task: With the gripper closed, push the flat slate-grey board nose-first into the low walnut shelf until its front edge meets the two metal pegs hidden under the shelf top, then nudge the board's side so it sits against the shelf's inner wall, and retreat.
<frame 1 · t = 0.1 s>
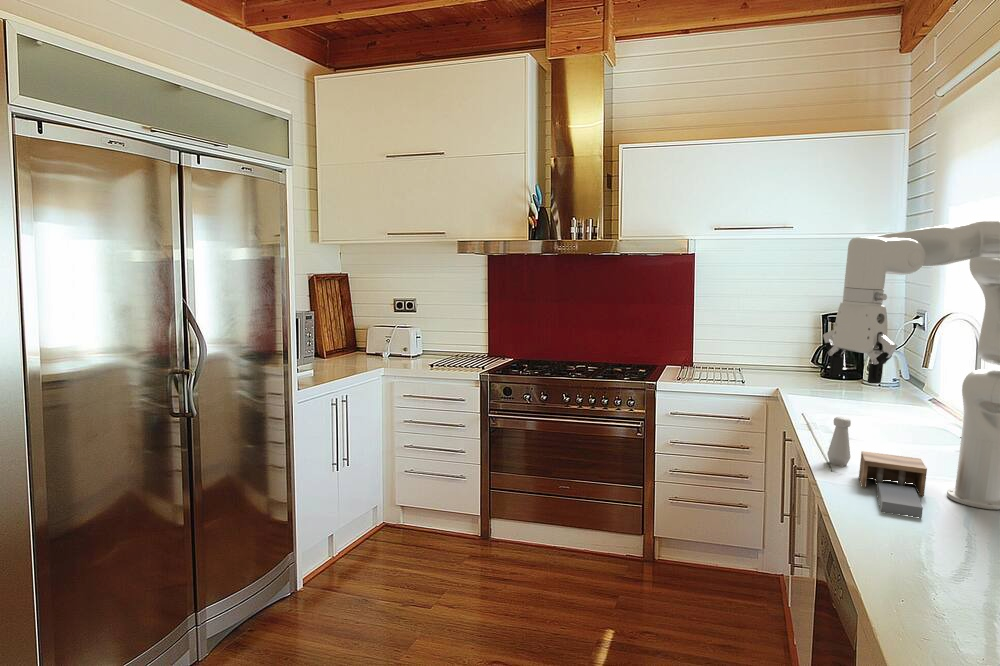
hand: (854, 378, 161), 31 cm above the worktop, tool pointing down, fingers open, 9 cm apart
salt shaker: (837, 464, 211), on the worktop
shelf: (890, 486, 193), on the worktop
board: (897, 506, 178), on the worktop
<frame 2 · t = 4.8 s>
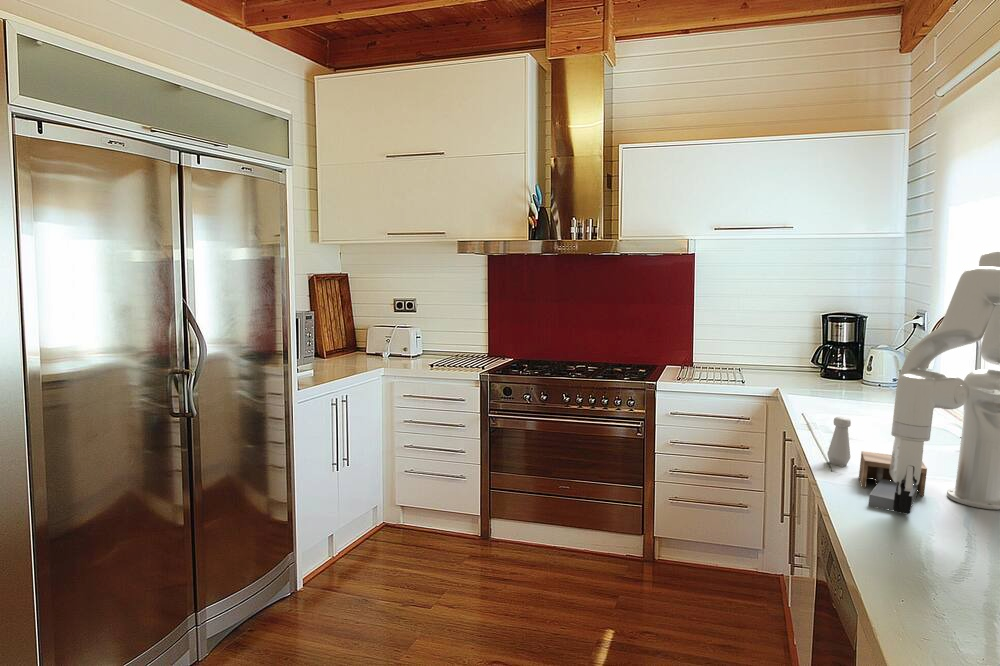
hand: (901, 511, 171), 1 cm above the worktop, tool pointing down, fingers closed
board: (892, 502, 181), on the worktop, touching gripper
everything else where it was.
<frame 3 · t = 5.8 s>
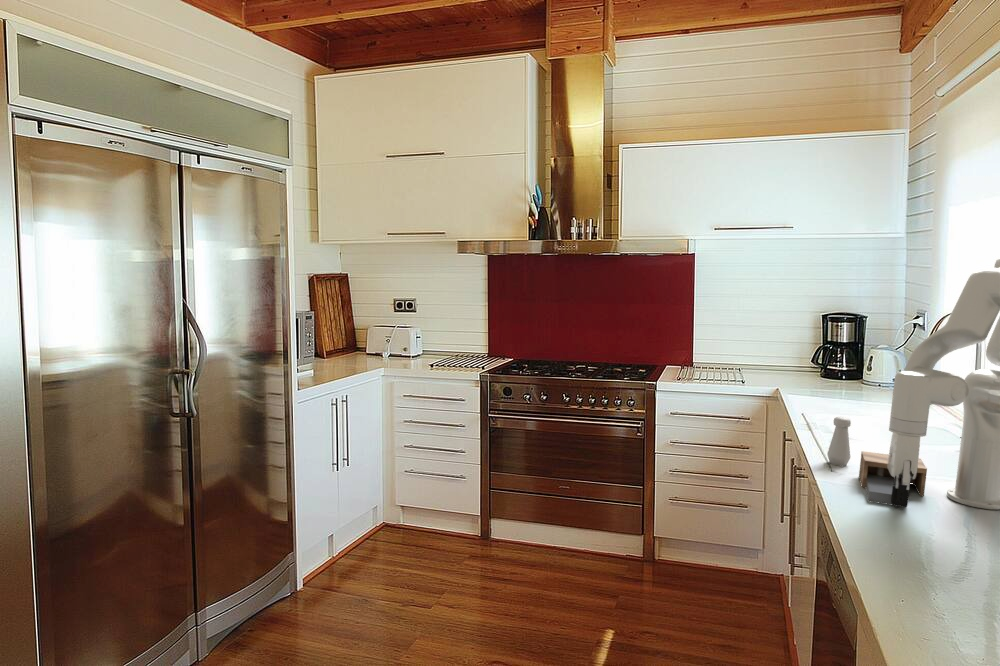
hand: (899, 504, 176), 1 cm above the worktop, tool pointing down, fingers closed
board: (884, 496, 186), on the worktop, touching gripper
everything else where it was.
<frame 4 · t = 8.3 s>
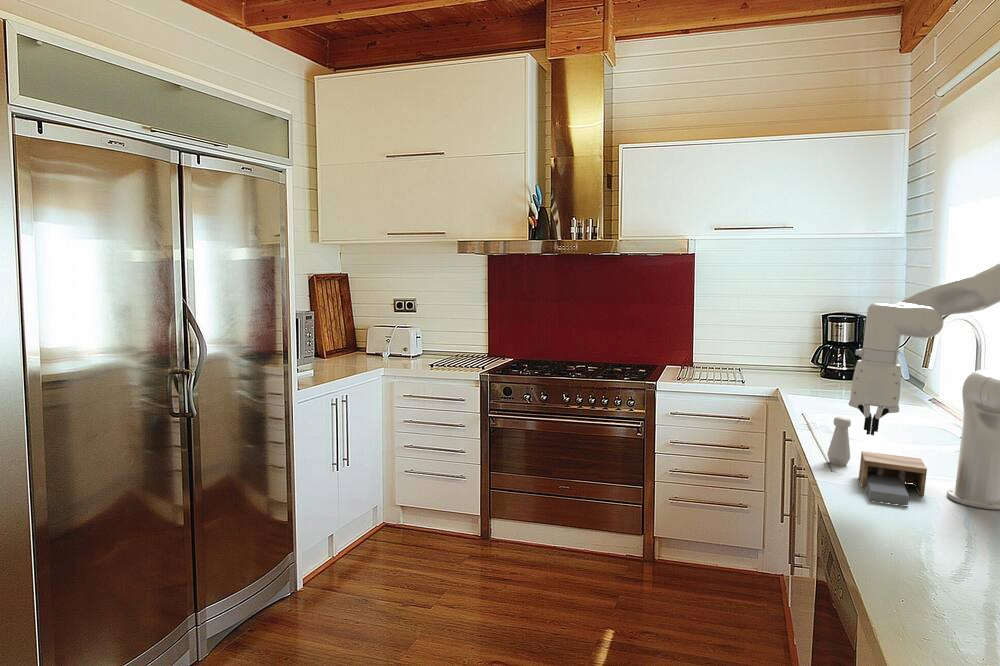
hand: (870, 433, 181), 15 cm above the worktop, tool pointing down, fingers closed
board: (884, 495, 186), on the worktop
everything else where it was.
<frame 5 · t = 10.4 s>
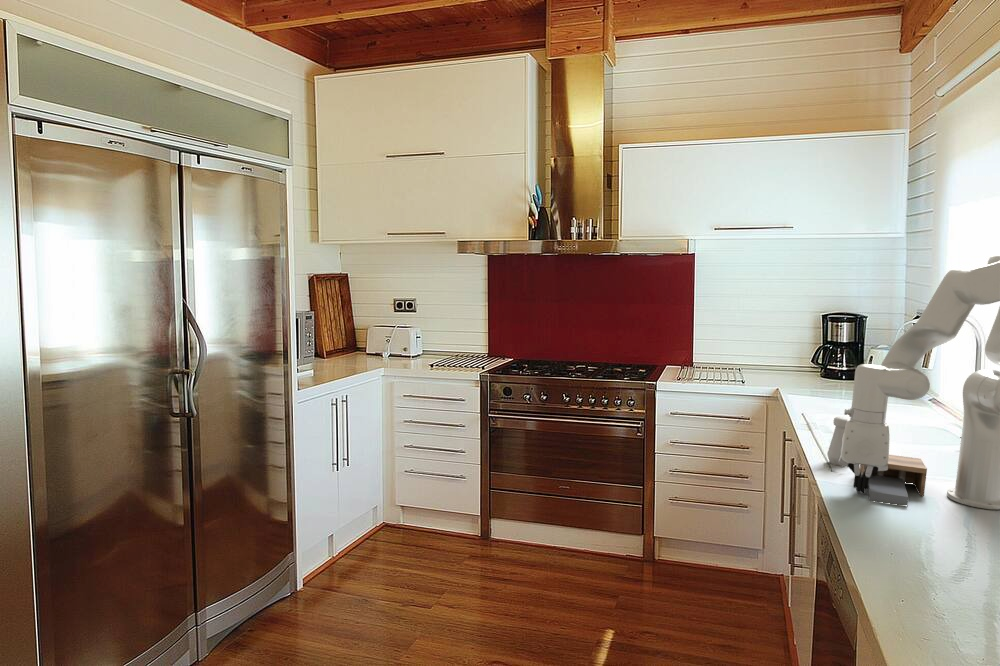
hand: (860, 491, 185), 1 cm above the worktop, tool pointing down, fingers closed
board: (885, 496, 186), on the worktop, touching gripper
everything else where it was.
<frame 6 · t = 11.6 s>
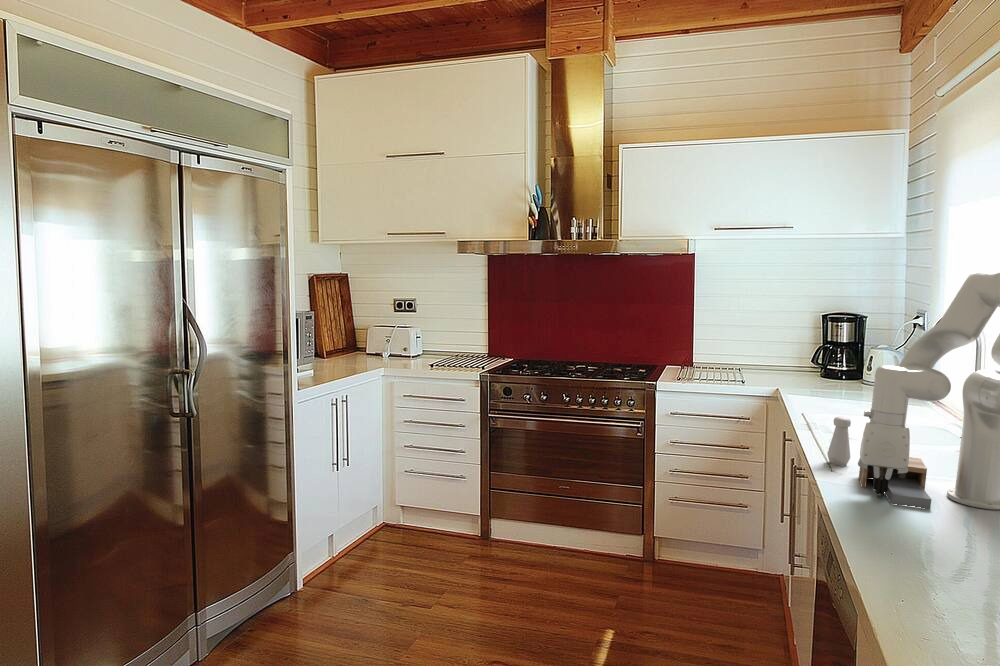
hand: (879, 493, 184), 1 cm above the worktop, tool pointing down, fingers closed
board: (903, 498, 185), on the worktop
everything else where it was.
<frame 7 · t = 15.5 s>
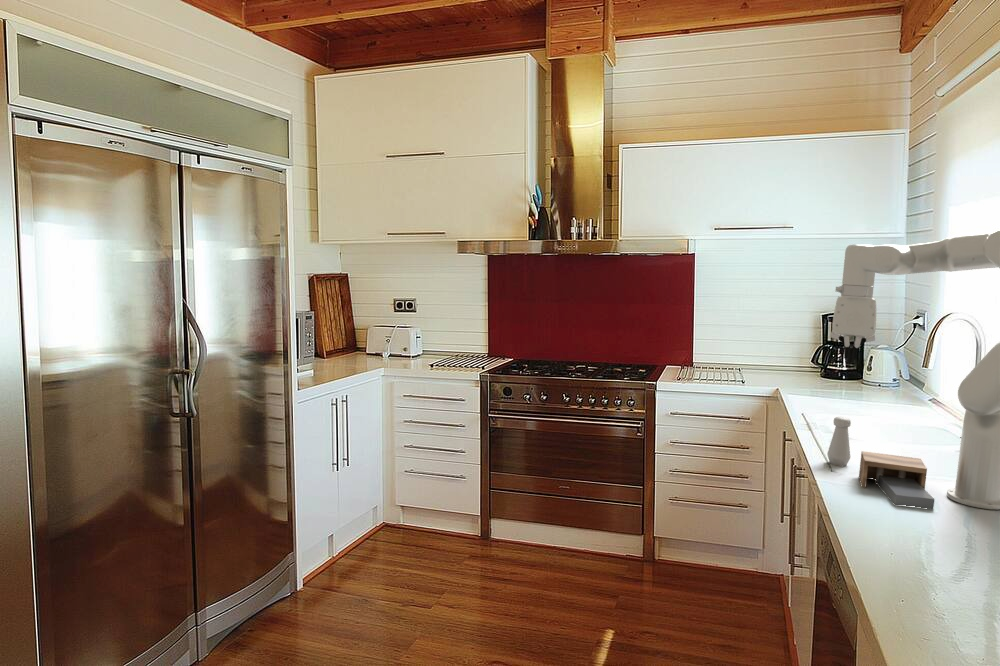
hand: (849, 361, 202), 29 cm above the worktop, tool pointing down, fingers closed
nothing on the worktop moved.
at the end: board 2.3 cm from the target spot, on the worktop; board tilted 0°; board moved 8.0 cm from its start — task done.
